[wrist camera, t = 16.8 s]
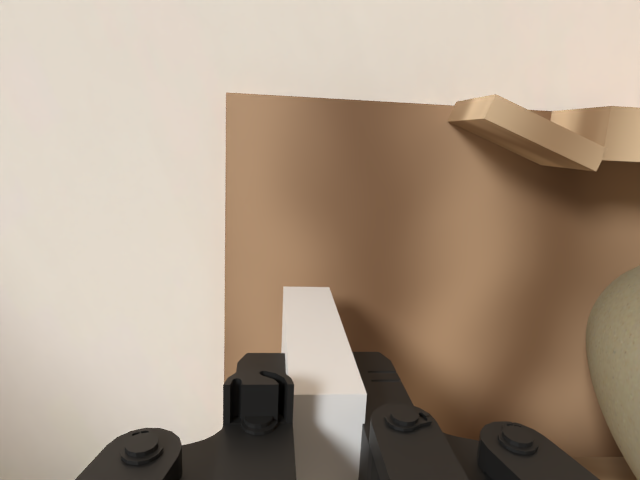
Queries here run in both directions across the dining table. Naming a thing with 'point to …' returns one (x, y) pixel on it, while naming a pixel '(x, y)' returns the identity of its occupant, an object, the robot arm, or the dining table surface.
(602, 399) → the flower pot
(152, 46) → the dining table surface
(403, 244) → the slot board
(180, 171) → the dining table surface
